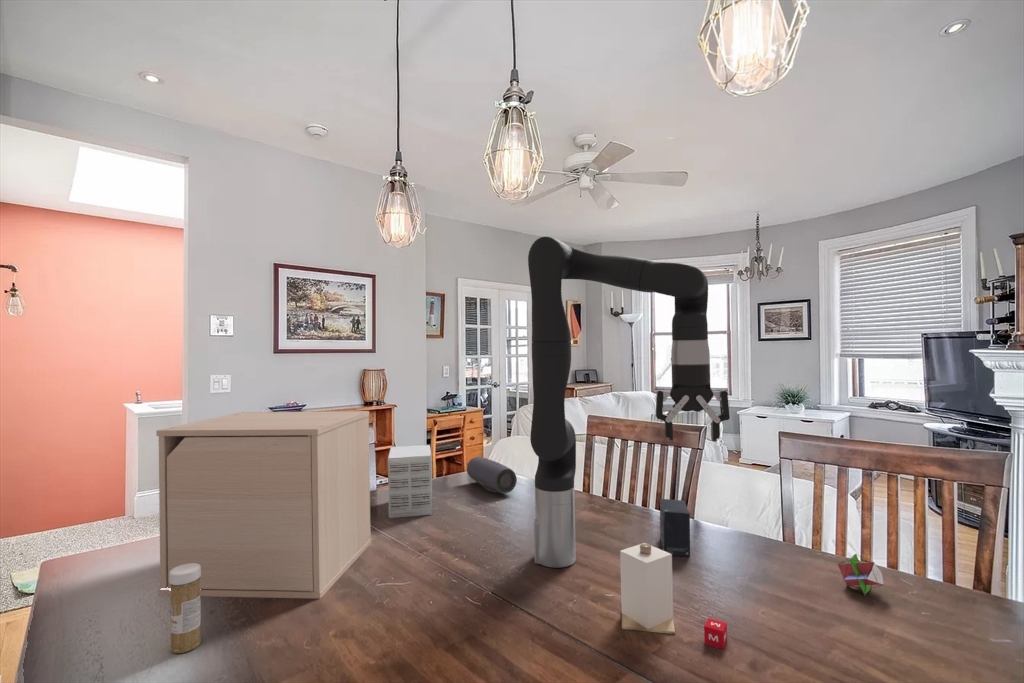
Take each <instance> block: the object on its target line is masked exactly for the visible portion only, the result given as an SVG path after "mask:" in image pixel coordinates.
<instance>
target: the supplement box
mask: <svg viewBox="0 0 1024 683" xmlns="http://www.w3.org/2000/svg"><path fill="white" fill-rule="evenodd" d="M432 463H433V460H432V449H431V445H430V444H423V445H418V444H417V445H405V446H404V445H403V446H391V447H390V448H389V453H388V457H387V473H388V474H387V475H388V476H387V478H388V479H387V480H388V518H389V519H394V518H406V517H420V516H431V515H433V510H432V508H433V507H432V506H433V505H432V504H433V496H432V495H433V493H432V492H433V491H432V489H433V483H432V482H433V478H432V477H433V474H432V472H433V470H432V468H433V467H432Z"/></svg>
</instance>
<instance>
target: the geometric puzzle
mask: <svg viewBox="0 0 1024 683" xmlns="http://www.w3.org/2000/svg"><path fill="white" fill-rule="evenodd" d="M859 558H861V559H862V560H864V557H861V555H859V554H857V553H854V554H853V555H851V557H848V558H847V559H845V560H844V563H843V561H842V562H840V563H838V564H837V565H838V569H839V570H840V572H841V573H840V574H841V577H842V580H843V581H844V583H845V585H846V587H849V588H851V589H852V588H854V587H855V591H856V592H858V593H859V594H862V595H863V596H866V595H867V594H869V591H870V590H872V589H874V588H875V589H876V588H877V589H878V588H880V587H882V586H884V585H885V583H884V577H883V576H884V575H883V572H882V571H881V569H879V567H878V565H877V564H876V563H875V561H869V560H868V561H867V560H864V562H861V561H860V560H859ZM845 562H848V563H845ZM857 586H859V587H860V588H861V590H862V592H863V593H861V591H859V590H858V589H857ZM872 586H874V587H872ZM872 592H873V590H872V591H870V593H872Z"/></svg>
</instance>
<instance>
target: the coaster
mask: <svg viewBox="0 0 1024 683" xmlns="http://www.w3.org/2000/svg"><path fill="white" fill-rule="evenodd" d="M621 630H627V631H628V630H630V631H638V632H639V631H640V632H650V633H651V632H652V633H660V634H669V635H670V634H671V635H676V629H675V624H674V617H673V618H672V619H669V620H667V621H665V622H663V623H661V624H659V625H656V626H654V627H652V628H650V629H647V628H646V627H644V626H642V625H641V624H639V623H637V622H636V621H634V620H632V619H631V618H629V617H627V616H626V615H624V614H623V613H622V612H621Z"/></svg>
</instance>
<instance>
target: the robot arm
mask: <svg viewBox="0 0 1024 683" xmlns="http://www.w3.org/2000/svg"><path fill="white" fill-rule="evenodd" d="M527 256H528V257H527V265H528V274H529V284H530V291H531V365H532V367H531V369H532V372H531V373H532V390H533V391H532V393H533V394H532V396H533V400H532V401H533V403H532V404H533V405H532V414H531V415H532V416H531V425H530V426H531V427H530V436H529V437H530V439H529V440H530V446H531V449H532V450H533V453H534V454H535V455H536V456H537V457H538V463H537V466H536V471H535V474H534V497H535V498H534V499H535V502H534V504H535V519H534V521H533V536H534V539H533V543H534V544H533V545H534V546H533V547H534V551H533V552H534V564H538V565H540V566H541V565H542V566H544V567H547V568H556V569H558V568H565V567H569V566H572V565H574V564H575V563H576V561H577V557H576V556H577V555H576V553H577V551H576V514H575V512H576V510H575V509H576V508H575V507H576V506H575V503H576V502H575V500H576V499H575V476H576V470H577V440H576V438H577V437H576V432H575V428H574V427H573V425H572V423H571V422H570V421H569V420H567V419H566V411H565V400H566V398H565V397H566V391H567V386H568V382H569V376H570V373H571V365H572V335H571V334H572V333H571V329H570V323H569V321H568V317H567V314H566V310H565V307H564V302H563V297H562V296H563V295H562V280H582V281H590V282H591V281H593V282H597V283H600V284H606V285H609V286H614V287H618V288H622V289H626V290H631V291H637V292H641V293H648V294H649V293H650V294H651V293H656V294H660V295H665V296H670V297H673V298H674V315H673V317H672V321H671V341H672V343H671V354H670V355H671V357H670V361H671V389H670V390H669V391H667V390H661V389H658V390H656V396H655V397H656V398H655V400H656V401H655V416H656V417H655V418H656V419H657V420H660V421H663V422H664V434H665V437H666V438H668V440H669V441H670V442H672V441H674V431H673V430H674V429H673V422H672V421H673V420H674V418H675V417H676V416H677V415H678V414H679V412H680V411H682V412H692V411H693V412H697V413H698V412H699V413H701V412H702V411H704V412H705V413H706V414H707V416H708V417H709V418H710V419H711V422H710V436H711V437H710V438H711V441H712V442H715V443H717V440H718V439H720V437H721V429H720V428H721V427H720V425H721V422H724V421H728V420H730V418H731V417H730V408H729V407H730V406H729V397H728V396H729V394H728V392H727V391H726V390H725V389H720V390H712V387H711V357H710V355H711V354H710V353H711V352H710V346H709V336H708V335H709V334H708V330H709V329H708V328H709V327H708V326H709V325H708V317H707V315H708V314H707V313H708V299H709V283H708V278H707V276H706V275H705V273H704V271H702V270H701V269H700V268H699V267H698V266H695V265H693V264H687V263H680V262H669V261H667V262H666V261H656V260H653V259H648V258H641V257H635V256H628V255H607V254H605V255H604V254H596V253H592V252H586V251H584V250H581V249H577V248H575V247H572V246H569V245H568V244H567V243H566V242H563V241H561V240H559V239H557V238H555V237H552V236H541V237H539V238H537V239H536V240H535V241H533V243H532V245H531V246H530V248H529V251H528V255H527ZM669 397H670V398H671V399H672V401H673V402H674V403H673V404H672V406H671V407H670V408H669V411H667V413H666V414H664V413H663V412H664V402H666V401H667V400H668V398H669ZM713 397H714V398H715V400H716V401H718V402H719V407H720V408H719V409H720V414H719V413H718V414H717V413H716V412H715V411H714V410H713V408H712V407H711V406H710V405H709V403H710V402H711V400H712V399H713Z"/></svg>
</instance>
